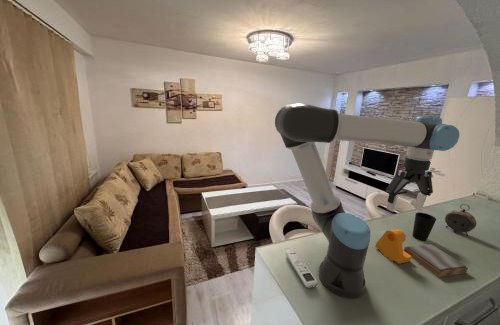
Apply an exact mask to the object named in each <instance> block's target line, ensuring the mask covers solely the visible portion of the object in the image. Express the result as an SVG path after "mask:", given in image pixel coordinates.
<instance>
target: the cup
mask: <svg viewBox="0 0 500 325" xmlns="http://www.w3.org/2000/svg"><path fill="white" fill-rule="evenodd" d="M414 215H415V217H414V223H413V230H412V237H413V238H414V239H415V240H417V241H420V242H427V240H428V238H429V236H430V234H431V232H432V230H433V228H434V225H435V223H436V221H437V218H436V217H435V216H433V215H432V214H429V213H425V212H419V211H418V212H415V214H414Z"/></svg>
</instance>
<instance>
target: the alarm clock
mask: <svg viewBox="0 0 500 325" xmlns="http://www.w3.org/2000/svg"><path fill="white" fill-rule="evenodd" d="M464 205H465V206H467V207H468V209H465V208H462V206H464ZM459 207H460V209H453V210H451V211H450V212H448V213H447V214H446V215H445V217H444V220H445V221H444V222H445V223H446V226H445V228H450V229H451V230H453V231H452V232H453V233H454V234H455V233H456V232H457V233H464V234H466V236H467V237H469V234H468V233H469V232H471V231H472V230H474V229H475V228H476V226H477V220H476V218H475V216H474V215H473V214H471V213H470V212H467V211H469V210H470V209H471V208H470V207H471V206H469V205H468V204H466V203H462V204H460V205H459Z"/></svg>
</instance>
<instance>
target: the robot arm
mask: <svg viewBox="0 0 500 325" xmlns="http://www.w3.org/2000/svg"><path fill="white" fill-rule="evenodd" d="M274 126H275V129H276V131H277V133H279V134H280V136H281V139H282V142H283V143H284V146H285V148H286V149H289V150H291V152H292V154H293V157H294V160H295V163H296V164H297V167H298V170H299V172H300V174H301V177H302V179H303V182H304V184H305V187H306V189H307V192H308V195H309V197H310V199H311V203H310V209H311V216H312V218H313V221H314V222H315V224H316V225H317V227H318V228H319V229H320V230H321V232H322V234H323V235H324V236H325V238H326V239H327V241H328V245H327V253H326V255H325V257H323V258H324V259H323V261H322V262H320V264H319V268H318V277H319V280H320V281H321V283H322V285H323V286H324V287H325V288H326V289H328V290H329V291H330V292H332V293H334V294H335V295H337V296H340V297H343V298H346V299H356V298H359V297H361V296H362V295H363V294H364V292H365V288H366V278H365V273H364V264H365V261H366V256H367V253H368V251H369V250H368V249H369V245H370V242H371V228H370V226H369V224H368V223H367V222H366V221H365V219H362V218H360V216H356V215H354V214H352V213H347V212H346V211H345V209H344V206H343V204H342V201H341V198H340V197H339V196H338V195H335V194H334V191H333V188H332V185H331V183H330V180H329V177H328V174H327V172H326V170H325V167H324V164H323V161H322V159H321V156H320V153H319V151H318V147H317V145H316V143H325V144H330V143H332V142H334V141H341V142H342V141H343V142H344V141H345V142H355V143H367V144H376V145H378V144H380V145H381V144H382V145H390V146H401V147H408V148H407V150H406V157H405V159H404V163H403V166H404V170H400V169H397V170H396V173H395V176H394V177H393V178H392V179H391V181H390V183H389V184H388V186H387V187H386V188H385V190H384V192H385V193H386V194H388V198H387V204H386V210H388V211H389V212H392V213H394V211H395V208H396V205H397V201H398V197H399V196H398V194H399V193H401V191H403V189H404V188H405V187H406V186H408V185H409V184H413V183H416V185H417V188H418V190H419V192H418V193H417V196H416V199H415V202H414V206H413V208H415V209H417V210H418V211H423V208H424V205H425V202H426V200H427V196H428V197H430V196H431V195H432V194H433V193H434V188H433V181H432V174H433V172H432V171H430V170H429V169H430V166H431V163H432V162H431V160H432V159H433V155H434V151H440V152H446V151H449V150H451V149H452V148H454V147H455V146H456V145H457V143H458V142H459V138H460V131H459V128H457V127H456V125H452V124H448V123H447V124H446V123H443V119H442V118H441V117H437V116H435V117H434V116H433V117H432V116H420V115H419V116H416V117H415V120H403V119H396V118H395V119H394V118H385V117H383V118H382V117H376V116H375V117H374V116H364V115H355V114H346V113H339V111H338V110H336V109H334V108H333V109H330V108H326V107H320V106H316V105H311V104H308V103H289V104H286V105H285V106H283V107H281V108H280V109H279V110H278V111H277V113H276V115H275V117H274Z"/></svg>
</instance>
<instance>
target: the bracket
mask: <svg viewBox="0 0 500 325" xmlns="http://www.w3.org/2000/svg"><path fill="white" fill-rule="evenodd" d="M406 238H407V237H406V235H405V233H404V232H403V231H402V230H401V229H398V228H396V229H390V230H386V231H385V232H384V233H383V235H382V236H381V237H380V238H379V239H378V240H377V241H376V242H375V246H374V247H375V248H376V249H378V251H379V253H381V254H382V255H383V256H385V257H386V258H388V260H390V261H392V262H395V263H396V264H398V265H399V264H403V263H407V262H410V261H411V259H412V258H411V255H409V254H408V253H406V252H405V251H404V249H403V243H405V241H406Z"/></svg>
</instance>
